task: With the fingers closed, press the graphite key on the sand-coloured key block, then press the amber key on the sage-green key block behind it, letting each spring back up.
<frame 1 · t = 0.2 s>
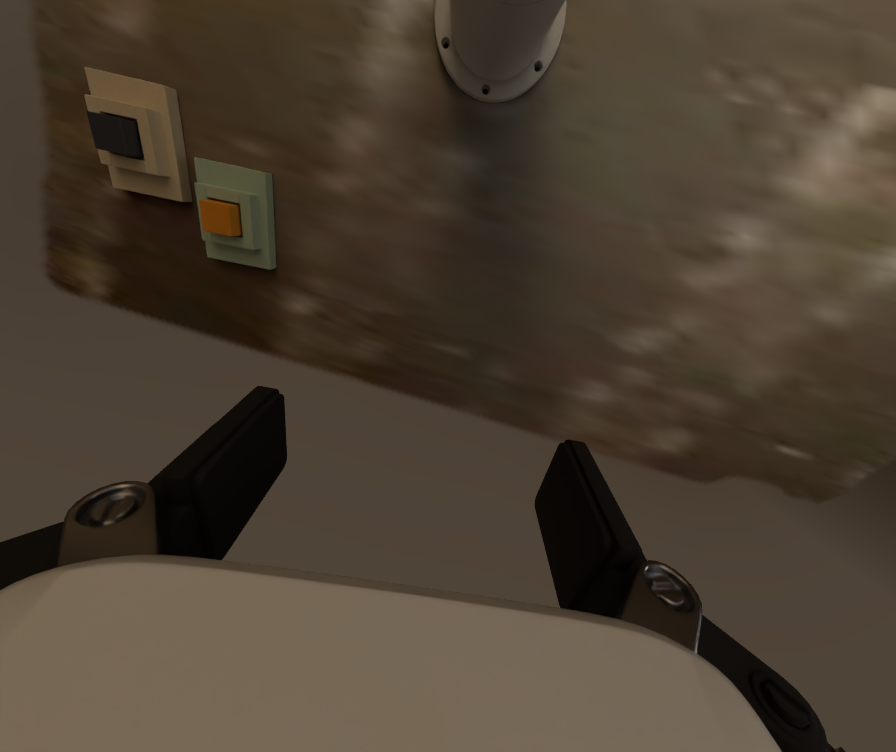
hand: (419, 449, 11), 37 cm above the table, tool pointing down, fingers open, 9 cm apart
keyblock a: (149, 142, 38), on the table
key a: (116, 135, 35), point 4 cm above the table, slide at 0.1 cm
key b: (221, 218, 38), point 4 cm above the table, slide at 0.1 cm
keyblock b: (242, 216, 42), on the table
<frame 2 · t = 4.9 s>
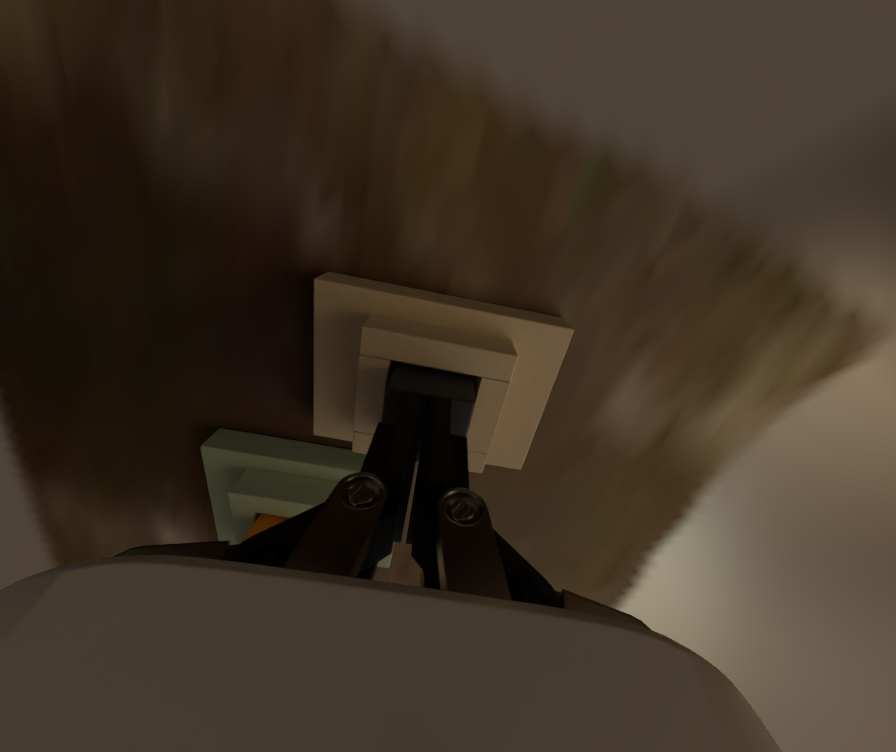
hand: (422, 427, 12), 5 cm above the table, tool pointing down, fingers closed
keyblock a: (433, 371, 17), on the table
key a: (427, 415, 13), point 4 cm above the table, slide at -0.1 cm, touching gripper
key b: (284, 552, 17), point 4 cm above the table, slide at 0.1 cm
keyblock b: (315, 492, 21), on the table
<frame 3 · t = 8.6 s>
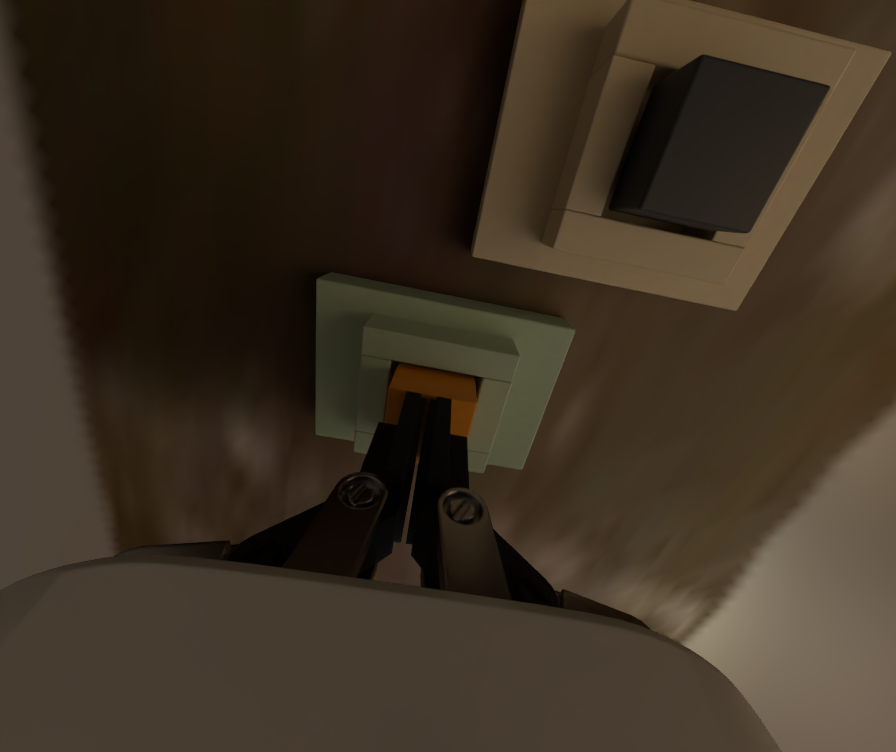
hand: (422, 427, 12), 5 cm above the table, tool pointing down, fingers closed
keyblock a: (631, 172, 13), on the table
key a: (700, 158, 9), point 4 cm above the table, slide at 0.1 cm
key b: (428, 415, 13), point 4 cm above the table, slide at 0.0 cm, touching gripper
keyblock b: (435, 371, 17), on the table
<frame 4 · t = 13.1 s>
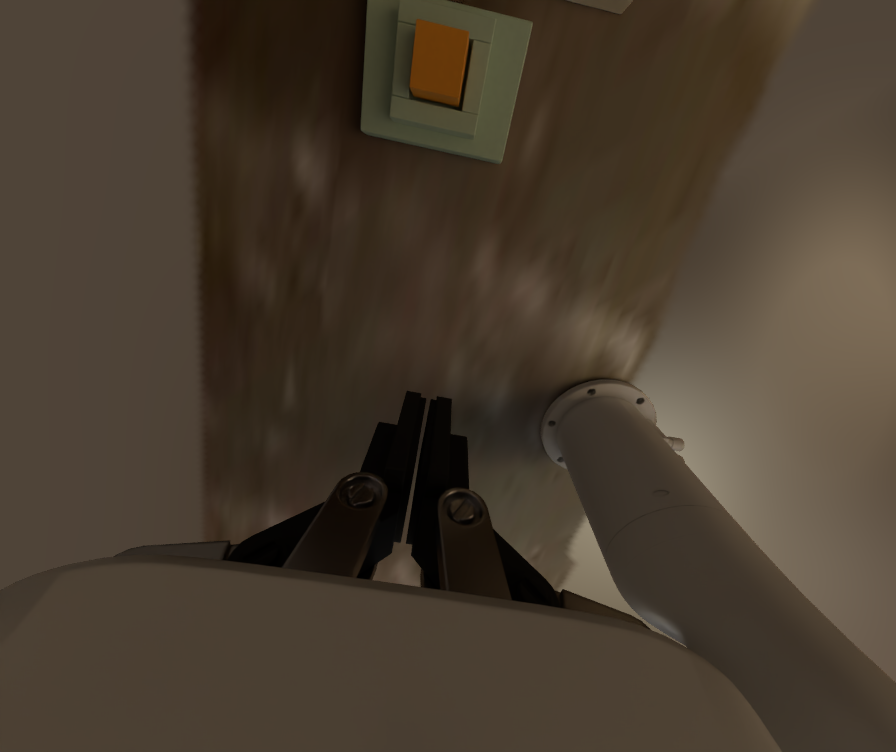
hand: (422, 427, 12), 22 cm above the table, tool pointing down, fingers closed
key b: (439, 66, 21), point 4 cm above the table, slide at 0.1 cm
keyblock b: (442, 86, 25), on the table
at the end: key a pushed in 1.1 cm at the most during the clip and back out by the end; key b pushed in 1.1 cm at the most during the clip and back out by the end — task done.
